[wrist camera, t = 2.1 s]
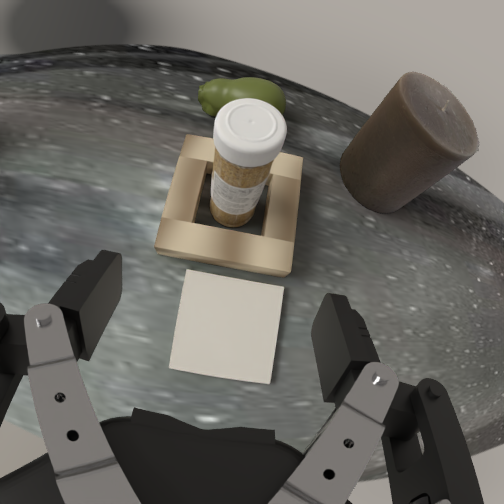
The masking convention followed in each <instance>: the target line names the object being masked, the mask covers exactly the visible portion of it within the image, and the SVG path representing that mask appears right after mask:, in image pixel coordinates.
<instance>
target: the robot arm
mask: <svg viewBox="0 0 504 504" xmlns="http://www.w3.org/2000/svg"><path fill="white" fill-rule="evenodd" d="M121 294H122V256H121V254H120V253H116V252H111V251H106V250H101V251H100V253H99V254H98V255H97V256H96V258H95V259H94V260H93V261H92V260H87V261H85V262H83V263H81V264H80V265H78V266H77V267H76V268H75V270H74V271H73V272H72V273H71V275H70V276H69V277H68V278H67V280H66V282H64V283H63V285H62V286H61V287H60V288H59V290H58V291H57V292H56V294H55V295H54V296H53V298H52V299H51V300H50V302H49V303H48V304H39V305H36V306H34V307H32V308H31V309H29V310H28V311H27V313H26V314H25V315H13V314H6V311H5V308H4V306H3V305H2V303H0V426H1V424H2V422H3V419H4V417H5V414H6V412H7V410H8V407H9V405H10V403H11V401H12V398H13V396H14V394H15V392H16V390H17V387H18V385H19V383H20V381H21V379H22V377H23V375H28V376H29V382H30V387H31V391H32V396H33V400H34V405H35V409H36V413H37V417H38V421H39V424H40V428H41V431H42V435H43V438H44V441H45V445H46V448H47V451H48V453H46V454H44V455H42V456H41V457H39V458H37V459H35V460H33V461H32V462H30V463H28V464H26V465H24V466H23V467H21V468H19V469H17V470H15V471H13V472H11V473H9V474H8V475H6V476H4V477H2V478H0V504H352V503H351V502H350V501H349V500H348V497H349V496H350V494H351V492H352V490H353V489H354V487H355V486H356V484H357V482H358V480H359V479H360V477H361V475H362V473H363V471H364V470H365V468H366V466H367V464H368V462H369V460H370V458H371V456H372V454H373V452H374V450H375V448H376V446H377V444H378V442H379V440H380V438H381V440H382V445H383V450H384V455H385V460H386V466H387V471H388V477H389V483H390V489H391V495H392V502H393V504H484V502H483V498H482V494H481V490H480V487H479V483H478V479H477V476H476V473H475V469H474V466H473V463H472V460H471V456H470V453H469V450H468V447H467V444H466V441H465V438H464V435H463V432H462V430H461V427H460V424H459V421H458V419H457V416H456V413H455V411H454V408H453V406H452V403H451V401H450V398H449V396H448V393H447V391H446V389H445V388H444V387H443V385H442V384H441V383H439V382H438V381H436V380H434V379H430V378H425V379H423V380H421V381H420V382H419V384H418V385H417V386H412V385H409V384H406V383H402V382H399V380H398V377H397V375H396V373H395V372H394V371H393V370H392V369H391V368H390V367H389V366H387V365H385V364H383V363H381V362H380V360H379V357H378V355H377V352H376V349H375V347H374V344H373V342H372V339H371V338H370V334H369V332H368V330H367V327H366V324H365V322H364V319H363V318H362V317H361V316H360V314H359V313H358V312H357V311H356V310H353V309H351V307H350V304H349V302H348V299H347V297H346V296H344V295H338V294H331V293H327V294H326V295H325V297H324V299H323V301H322V304H321V306H320V308H319V311H318V313H317V315H316V318H315V320H314V322H313V325H312V331H311V337H312V342H313V347H314V352H315V357H316V362H317V367H318V373H319V378H320V383H321V389H322V394H323V400H324V402H331V403H335V406H336V408H335V409H334V411H333V412H332V413H331V415H330V416H329V418H328V419H327V421H326V422H325V423H324V425H323V426H322V428H321V429H320V430H319V432H318V433H317V435H316V436H315V437H314V439H313V440H312V441H311V443H310V444H309V445H308V446H307V448H306V449H305V450H304V451H303V453H301V452H300V451H298V450H297V449H295V448H294V447H292V446H290V445H288V444H286V443H283V442H281V441H278V440H275V430H267V429H255V428H245V427H235V428H225V429H212V430H203V429H199V428H197V427H194V426H192V425H189V424H187V423H185V422H182V421H180V420H178V419H175V418H173V417H171V416H168V415H164V414H159V413H155V412H151V411H146V410H142V409H138V408H134V409H133V413H132V416H126V417H116V418H111V419H107V420H104V421H101V422H99V421H98V419H97V416H96V414H95V412H94V409H93V407H92V404H91V401H90V399H89V396H88V394H87V391H86V388H85V385H84V383H83V380H82V377H81V374H80V371H79V368H78V365H77V361H78V359H79V358H80V359H83V360H86V361H89V360H90V358H91V356H92V354H93V352H94V350H95V348H96V346H97V344H98V342H99V340H100V338H101V336H102V334H103V332H104V330H105V328H106V326H107V324H108V322H109V320H110V318H111V316H112V314H113V312H114V310H115V308H116V306H117V305H118V303H119V301H120V298H121ZM419 431H420V432H421V436H422V439H423V443H424V454H423V456H422V452H421V448H420V444H419V440H418V437H417V433H418V432H419Z"/></svg>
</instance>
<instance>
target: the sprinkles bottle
mask: <svg viewBox="0 0 504 504" xmlns="http://www.w3.org/2000/svg"><path fill="white" fill-rule="evenodd" d="M286 133H287V126H286V122H285V119H284V117H283V116H282V114H281V113H280V112H279V111H278V110H277V109H276V108H275V107H274V106H272V105H270V104H269V103H267V102H264V101H261V100H258V99H252V98H244V99H238V100H234V101H231V102H229V103H227V104H226V105H225V106H223V107H222V108H221V109H220V111H219V112H218V114H217V116H216V118H215V123H214V134H213V139H214V145H215V154H214V162H213V172H212V180H211V199H210V204H209V205H210V211H211V214H212V216H213V217H214V219H215V220H216V221H217V222H219V223H220V224H222V225H224V226H227V227H239V226H242V225H244V224H246V223H247V222H248V221H249V220H250V219H251V218H252V216H253V214H254V212H255V206H256V204H257V203H258V201H259V198H260V196H261V193H262V191H263V188H264V186H265V183H266V181H267V178H268V176H269V173H270V170H271V166H272V163H273V161H274V159H275V158H276V157H277V156H278V154H279V153H280V151H281V148H282V146H283V143H284V140H285V137H286Z"/></svg>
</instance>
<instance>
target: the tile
mask: <svg viewBox="0 0 504 504" xmlns="http://www.w3.org/2000/svg"><path fill="white" fill-rule="evenodd" d="M283 291H284V287H281V286H275V285H270V284H264V283H258V282H253V281H247V280H242V279H236V278H231V277H225V276H220V275H214V274H209V273H204V272H199V271H193V270H188V269H187V270H186V275H185V280H184V285H183V290H182V295H181V301H180V306H179V311H178V317H177V322H176V328H175V334H174V339H173V345H172V351H171V358H170V364H169V368H172V369H176V370H182V371H187V372H192V373H197V374H203V375H209V376H215V377H221V378H228V379H234V380H242V381H249V382H257V383H266V384H270V380H271V374H272V367H273V361H274V354H275V348H276V341H277V334H278V327H279V320H280V313H281V306H282V299H283Z"/></svg>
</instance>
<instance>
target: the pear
mask: <svg viewBox="0 0 504 504" xmlns="http://www.w3.org/2000/svg"><path fill="white" fill-rule="evenodd" d="M199 88H200V90H199V92H198V101H199V102H200V104H201V105H202V110H203V111H205V112H206V113H207V114H209V115H211V116H217V114H218V112H219V111H220V109H221V108H222V107H223V106H225V105H226V104H227V103H229V102H231V101H234V100H238V99H244V98H252V99H258V100H261V101H264V102H267V103H269V104H270V105H272V106H274V107H275V108H276V109H277V110H278V111H279V112H280V113H281V114H282V115H283V113H284V111H285V106H286V99H285V95H284V93H283V91H282V90H281V88H280V87H279V86H277V85H276V84H274V83H272V82H270V81H267V80H264V79H260V78H240V79H236V80H229V79H223V78H220V79H214V80H211V81H210V82H206V84H205V85H201V86H199Z"/></svg>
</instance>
